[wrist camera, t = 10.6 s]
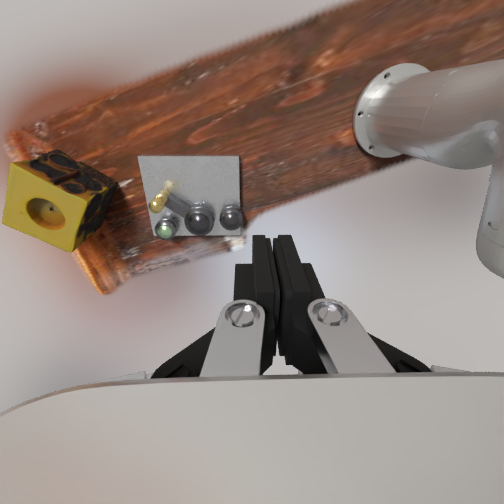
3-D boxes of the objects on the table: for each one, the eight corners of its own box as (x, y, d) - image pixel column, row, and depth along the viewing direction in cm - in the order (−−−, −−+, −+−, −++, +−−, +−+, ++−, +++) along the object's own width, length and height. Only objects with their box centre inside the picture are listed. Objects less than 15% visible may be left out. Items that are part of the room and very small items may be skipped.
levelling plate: (242, 154, 42) (241, 159, 39) (243, 231, 49) (243, 241, 46) (140, 154, 42) (131, 159, 38) (156, 232, 49) (149, 242, 45)
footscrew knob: (220, 215, 46) (217, 229, 41) (205, 235, 48) (200, 251, 43) (167, 179, 42) (156, 190, 37) (153, 203, 44) (141, 216, 39)
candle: (57, 147, 41) (7, 159, 33) (119, 181, 44) (89, 199, 36) (44, 200, 45) (-3, 222, 37) (102, 227, 48) (71, 254, 40)
